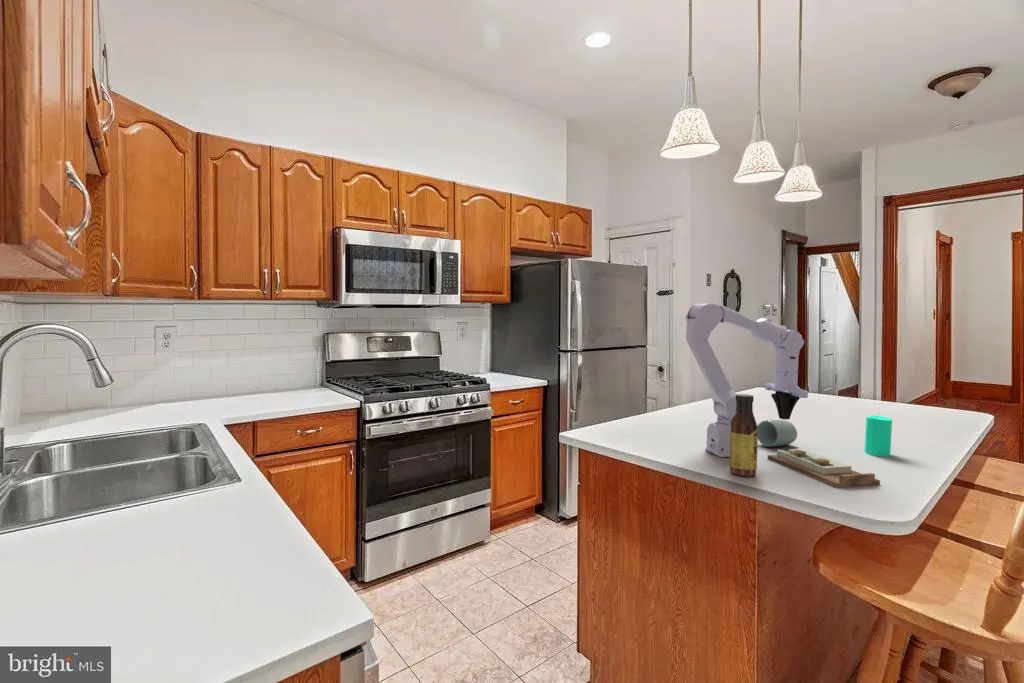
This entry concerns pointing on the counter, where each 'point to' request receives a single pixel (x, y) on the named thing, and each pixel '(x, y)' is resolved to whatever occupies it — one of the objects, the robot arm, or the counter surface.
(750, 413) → the sauce bottle
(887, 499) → the counter surface
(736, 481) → the counter surface
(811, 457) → the panel
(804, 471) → the board
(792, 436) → the cup
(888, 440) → the candle
